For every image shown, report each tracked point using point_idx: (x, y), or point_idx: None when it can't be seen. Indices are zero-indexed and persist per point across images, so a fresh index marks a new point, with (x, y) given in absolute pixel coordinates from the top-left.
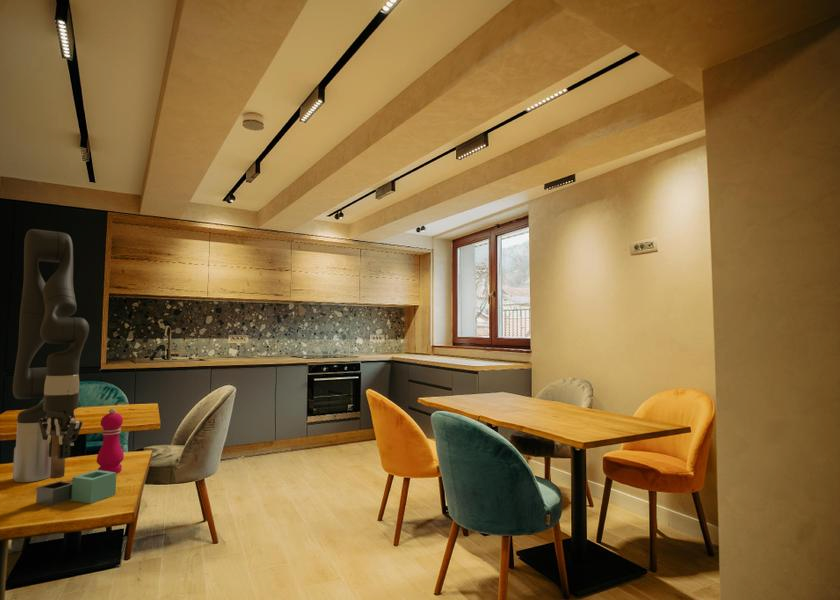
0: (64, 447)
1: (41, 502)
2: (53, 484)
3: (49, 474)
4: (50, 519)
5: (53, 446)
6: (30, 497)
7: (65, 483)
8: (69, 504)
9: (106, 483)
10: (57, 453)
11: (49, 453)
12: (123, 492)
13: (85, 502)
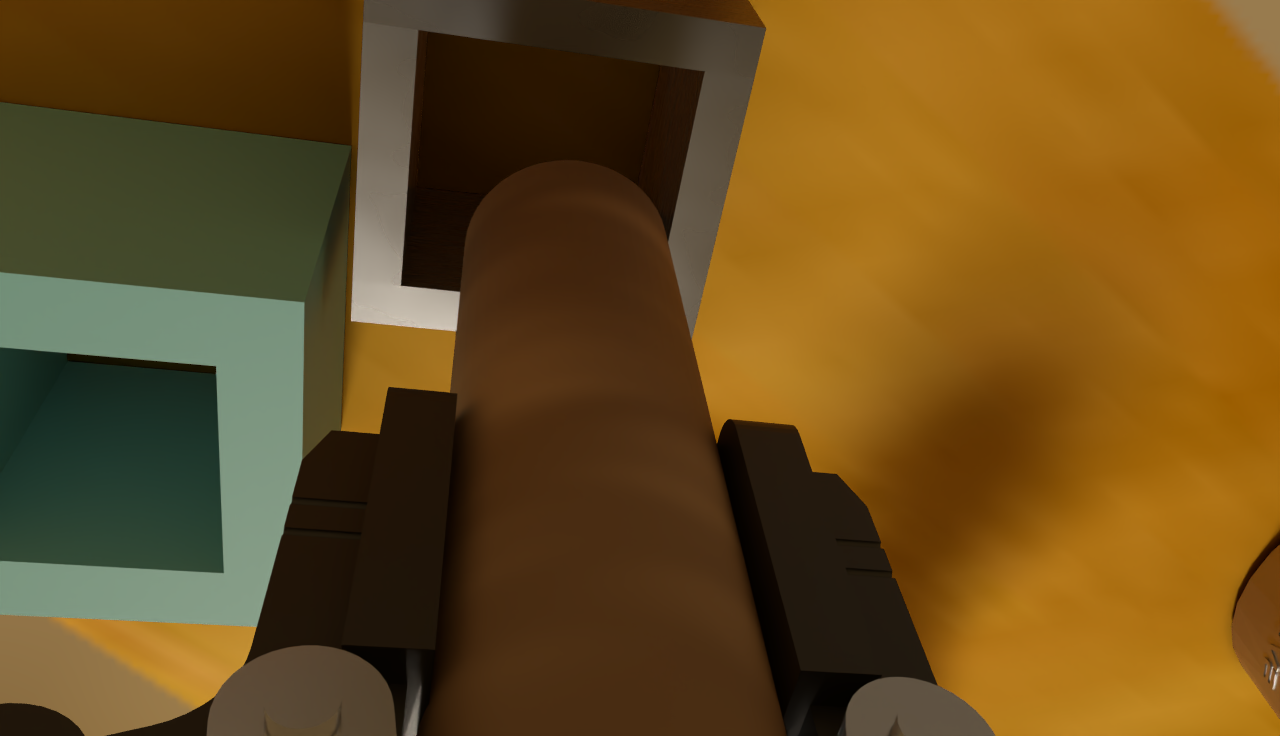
0: (260, 623)
1: None
2: (669, 225)
3: (1249, 642)
4: None
5: (604, 574)
6: (983, 131)
7: None
8: (223, 17)
9: None
10: (489, 467)
11: (779, 466)
12: None
13: (64, 110)
